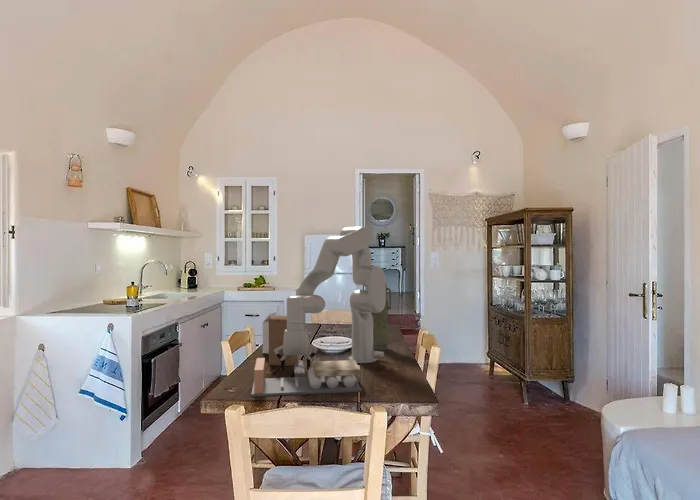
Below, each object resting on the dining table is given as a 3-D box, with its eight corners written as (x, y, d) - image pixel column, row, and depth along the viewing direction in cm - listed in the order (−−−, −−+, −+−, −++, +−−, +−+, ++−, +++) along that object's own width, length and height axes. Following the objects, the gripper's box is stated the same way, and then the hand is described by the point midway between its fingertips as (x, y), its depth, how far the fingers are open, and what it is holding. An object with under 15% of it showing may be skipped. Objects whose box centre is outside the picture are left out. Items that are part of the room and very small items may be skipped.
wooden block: (290, 366, 204) (290, 319, 203) (268, 365, 206) (268, 318, 205) (297, 361, 213) (297, 316, 213) (276, 360, 215) (276, 315, 215)
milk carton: (282, 351, 233) (282, 312, 233) (275, 354, 226) (275, 314, 226) (269, 350, 235) (269, 311, 235) (262, 353, 228) (262, 313, 228)
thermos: (367, 347, 243) (367, 277, 242) (390, 347, 242) (390, 278, 242) (366, 350, 234) (366, 279, 234) (391, 351, 233) (390, 279, 233)
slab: (354, 365, 185) (354, 360, 185) (360, 374, 171) (360, 369, 171) (312, 366, 182) (312, 361, 182) (315, 376, 168) (315, 371, 168)
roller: (299, 371, 200) (305, 363, 200) (300, 380, 186) (307, 372, 186) (291, 365, 199) (297, 358, 199) (292, 374, 185) (298, 366, 186)
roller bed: (353, 377, 187) (353, 354, 187) (361, 391, 168) (361, 366, 168) (254, 381, 182) (254, 357, 182) (251, 396, 163) (251, 370, 163)
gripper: (316, 324, 197) (316, 366, 197) (274, 325, 195) (274, 367, 195) (318, 327, 190) (318, 371, 190) (273, 328, 187) (273, 372, 187)
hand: (295, 369), depth 192 cm, fingers open, 9 cm apart
